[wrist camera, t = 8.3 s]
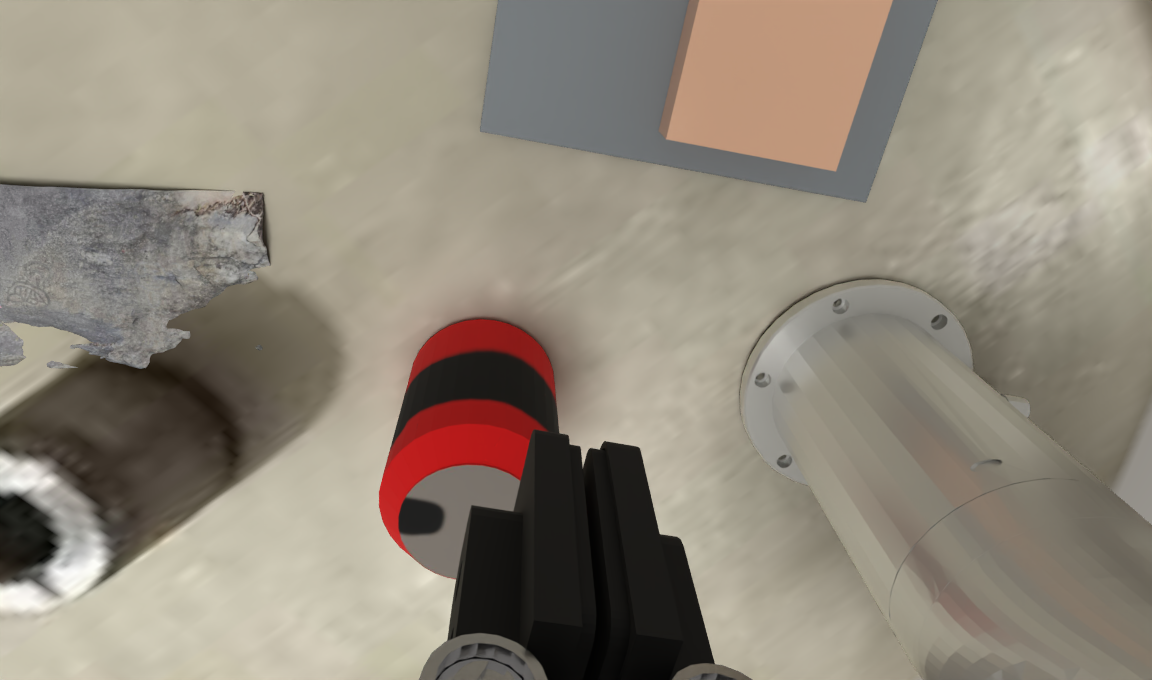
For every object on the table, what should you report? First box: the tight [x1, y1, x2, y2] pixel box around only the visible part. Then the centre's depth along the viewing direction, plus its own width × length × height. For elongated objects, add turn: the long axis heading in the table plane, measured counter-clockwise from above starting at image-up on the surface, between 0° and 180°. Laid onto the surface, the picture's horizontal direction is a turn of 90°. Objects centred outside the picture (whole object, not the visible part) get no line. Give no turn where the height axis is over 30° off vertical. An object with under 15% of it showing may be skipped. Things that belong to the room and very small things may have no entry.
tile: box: [659, 0, 893, 171], centre depth 33 cm, size 2×9×8 cm
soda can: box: [379, 319, 559, 579], centre depth 36 cm, size 8×8×12 cm
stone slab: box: [0, 184, 270, 369], centre depth 37 cm, size 18×2×10 cm
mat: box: [480, 0, 938, 203], centre depth 34 cm, size 19×11×1 cm, turn 79°
